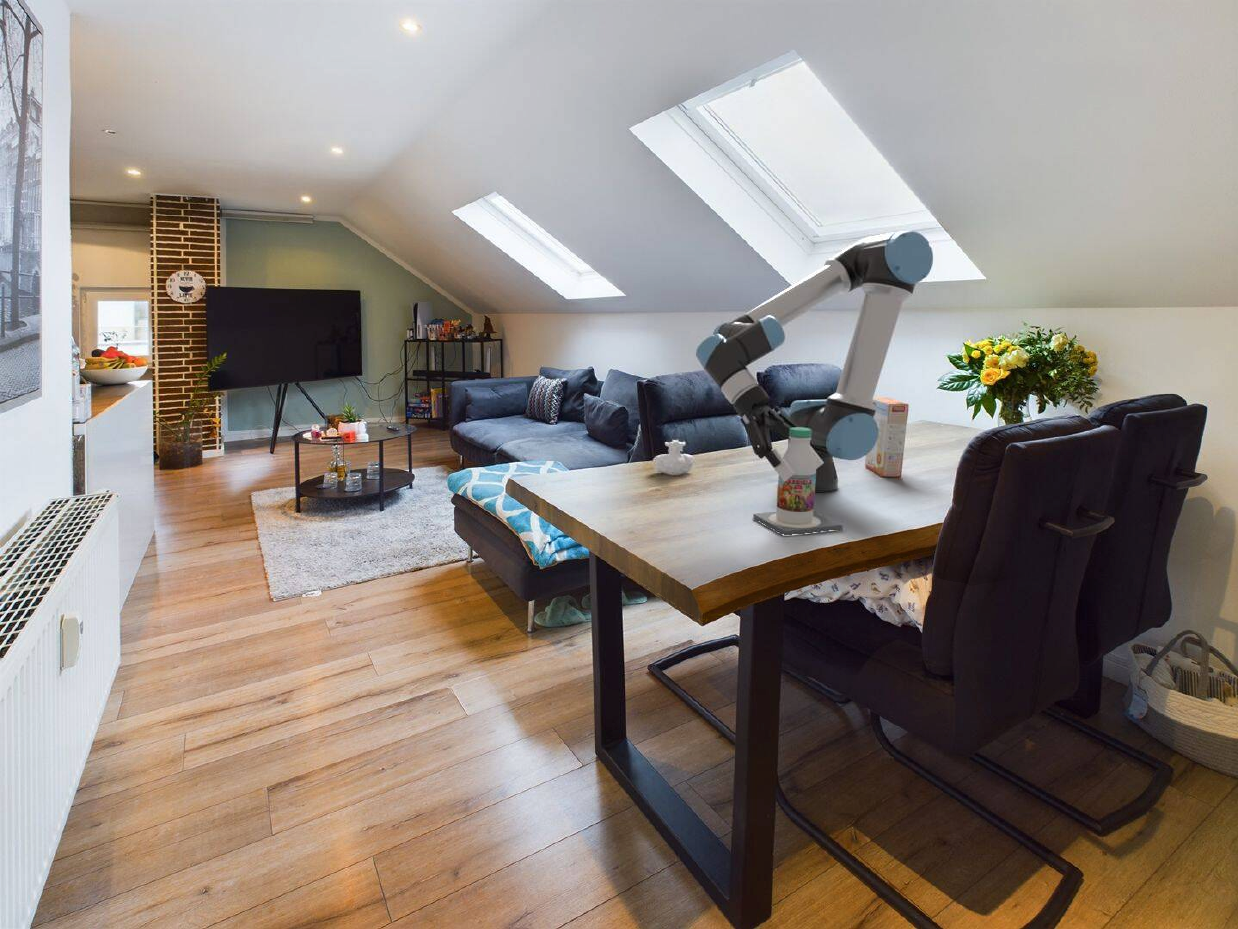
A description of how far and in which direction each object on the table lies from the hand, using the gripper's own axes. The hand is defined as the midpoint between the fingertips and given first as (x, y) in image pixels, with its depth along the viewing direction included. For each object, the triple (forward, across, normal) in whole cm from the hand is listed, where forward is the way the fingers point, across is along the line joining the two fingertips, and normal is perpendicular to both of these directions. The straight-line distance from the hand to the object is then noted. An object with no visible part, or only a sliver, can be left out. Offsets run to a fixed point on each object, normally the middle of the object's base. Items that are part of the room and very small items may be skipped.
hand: (804, 472), depth 143 cm
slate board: (+8, -1, -10) cm, 12 cm away
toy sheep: (-26, -21, -44) cm, 55 cm away
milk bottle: (+7, 0, -9) cm, 11 cm away
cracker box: (+4, -64, -13) cm, 65 cm away
